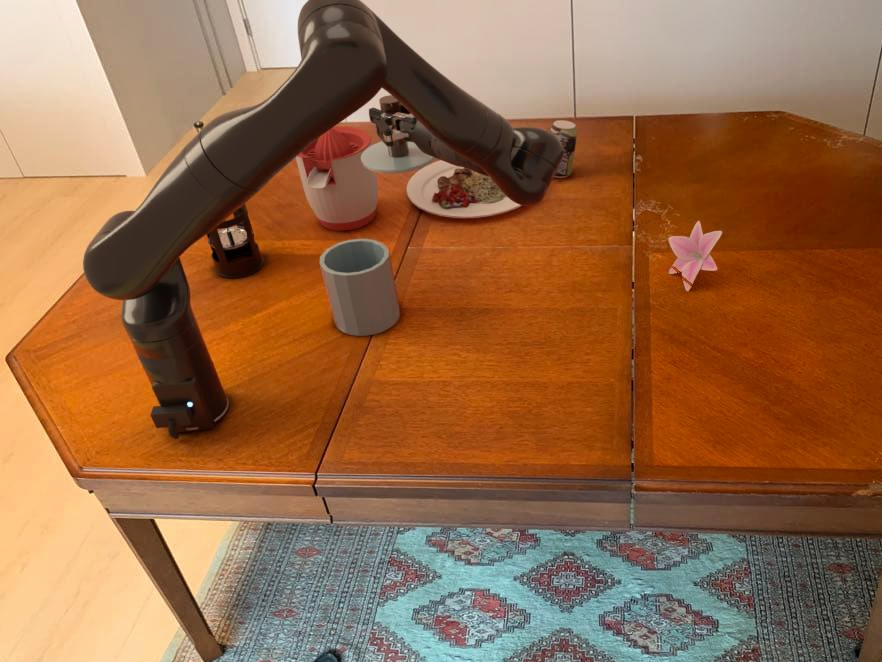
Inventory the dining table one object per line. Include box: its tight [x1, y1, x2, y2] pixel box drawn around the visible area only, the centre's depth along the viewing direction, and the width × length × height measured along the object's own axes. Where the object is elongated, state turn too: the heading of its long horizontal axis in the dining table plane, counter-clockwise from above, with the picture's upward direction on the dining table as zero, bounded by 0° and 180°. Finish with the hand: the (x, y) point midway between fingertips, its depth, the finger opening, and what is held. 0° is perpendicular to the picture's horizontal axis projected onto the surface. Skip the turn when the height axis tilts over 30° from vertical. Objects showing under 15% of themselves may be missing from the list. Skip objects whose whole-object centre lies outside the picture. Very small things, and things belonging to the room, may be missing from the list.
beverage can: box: [549, 119, 578, 179], centre depth 180 cm, size 6×7×12 cm
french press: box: [205, 203, 265, 280], centre depth 152 cm, size 12×9×23 cm
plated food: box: [406, 159, 522, 219], centre depth 178 cm, size 30×30×3 cm
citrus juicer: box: [295, 125, 379, 231], centre depth 165 cm, size 16×17×20 cm
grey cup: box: [319, 238, 401, 337], centre depth 141 cm, size 12×12×12 cm
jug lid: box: [361, 94, 436, 175], centre depth 131 cm, size 13×13×10 cm
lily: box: [668, 220, 723, 292], centre depth 149 cm, size 12×12×10 cm
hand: (381, 110), depth 131 cm, fingers closed on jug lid, 3 cm apart
